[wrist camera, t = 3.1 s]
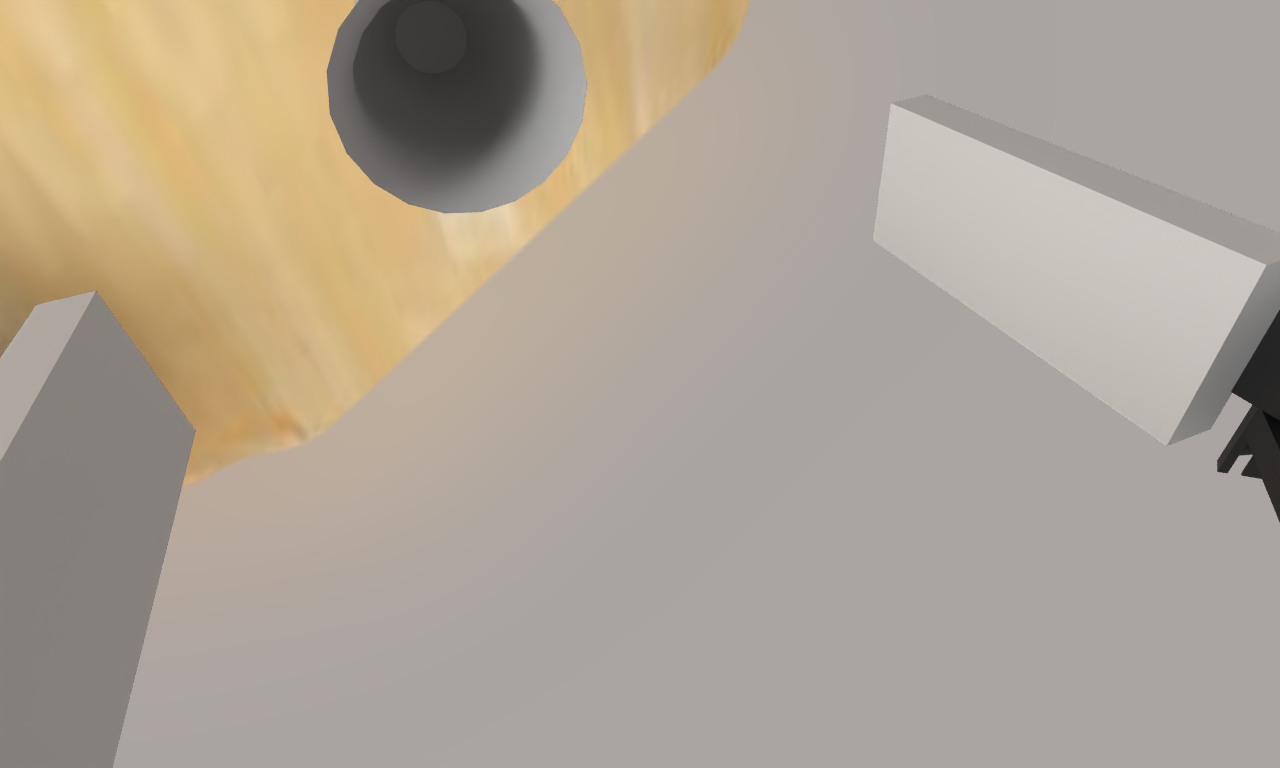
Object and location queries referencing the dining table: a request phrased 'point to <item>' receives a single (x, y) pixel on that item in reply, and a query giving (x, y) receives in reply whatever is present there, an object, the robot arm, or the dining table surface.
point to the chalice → (456, 97)
